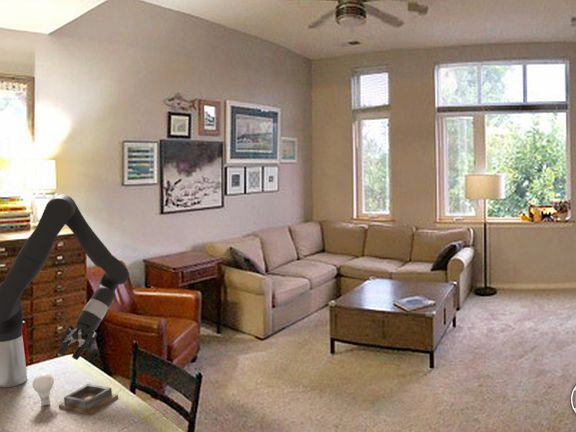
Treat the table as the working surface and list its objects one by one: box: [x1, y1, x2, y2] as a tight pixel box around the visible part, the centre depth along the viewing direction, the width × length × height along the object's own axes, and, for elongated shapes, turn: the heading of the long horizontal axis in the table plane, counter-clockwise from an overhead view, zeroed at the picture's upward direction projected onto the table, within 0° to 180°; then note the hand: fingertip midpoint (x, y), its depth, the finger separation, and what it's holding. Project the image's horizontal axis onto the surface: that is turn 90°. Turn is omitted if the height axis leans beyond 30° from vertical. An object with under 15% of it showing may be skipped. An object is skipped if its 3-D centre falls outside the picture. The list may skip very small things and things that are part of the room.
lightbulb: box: [32, 372, 55, 406], centre depth 169 cm, size 6×6×11 cm
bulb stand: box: [58, 383, 119, 416], centre depth 169 cm, size 14×12×4 cm
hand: (67, 356), depth 175 cm, fingers open, 8 cm apart
